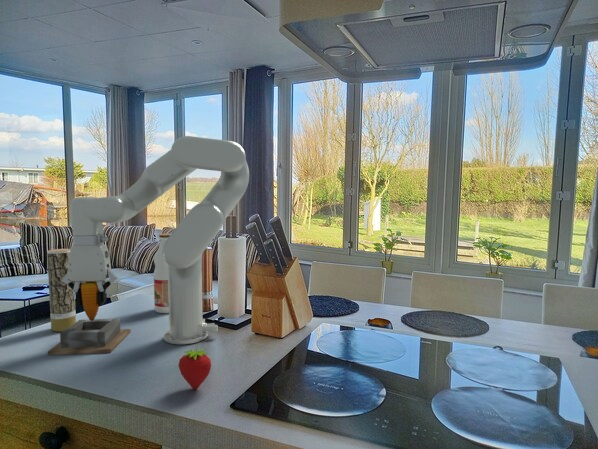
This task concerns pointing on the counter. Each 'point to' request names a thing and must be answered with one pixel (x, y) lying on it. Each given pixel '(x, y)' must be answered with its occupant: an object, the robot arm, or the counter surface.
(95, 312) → the carrot
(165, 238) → the fruit juice
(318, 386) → the counter surface
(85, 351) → the docking stand
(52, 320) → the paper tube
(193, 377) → the strawberry
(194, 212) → the robot arm
